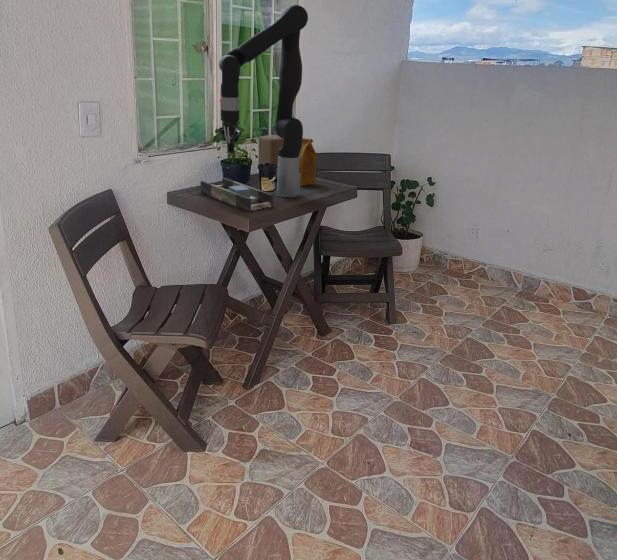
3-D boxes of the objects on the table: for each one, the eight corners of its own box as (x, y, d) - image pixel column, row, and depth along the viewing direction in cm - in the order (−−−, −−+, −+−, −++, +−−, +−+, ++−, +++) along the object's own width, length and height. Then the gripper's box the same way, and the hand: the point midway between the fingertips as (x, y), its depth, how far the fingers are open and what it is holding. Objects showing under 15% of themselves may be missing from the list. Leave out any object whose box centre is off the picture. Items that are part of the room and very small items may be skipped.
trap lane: (224, 188, 251) (224, 177, 249) (273, 206, 227) (273, 194, 225) (200, 192, 243) (200, 181, 241) (248, 211, 219) (248, 199, 217)
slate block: (241, 194, 235) (241, 185, 233) (249, 198, 230) (250, 189, 228) (228, 196, 232) (228, 186, 230) (237, 200, 226) (237, 190, 225)
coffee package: (304, 180, 274) (306, 134, 265) (317, 186, 264) (320, 138, 255) (286, 181, 269) (288, 135, 260) (299, 187, 259) (301, 139, 250)
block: (257, 177, 275) (257, 136, 267) (272, 174, 281) (273, 134, 273) (270, 181, 268) (271, 139, 260) (286, 178, 275) (287, 137, 267)
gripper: (247, 110, 221) (247, 154, 228) (228, 106, 230) (228, 148, 237) (231, 111, 216) (232, 155, 223) (212, 107, 225) (213, 150, 232)
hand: (230, 152), depth 230 cm, fingers closed
